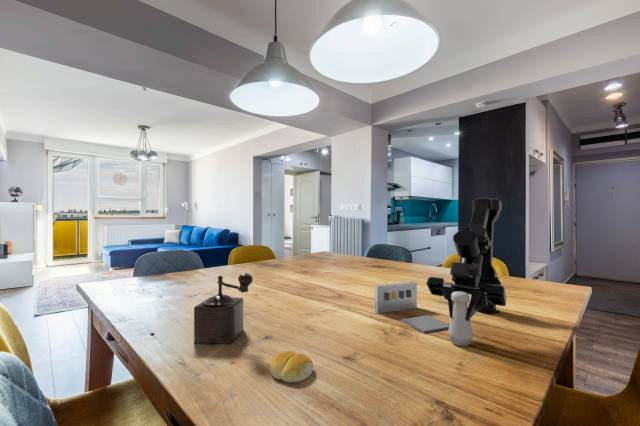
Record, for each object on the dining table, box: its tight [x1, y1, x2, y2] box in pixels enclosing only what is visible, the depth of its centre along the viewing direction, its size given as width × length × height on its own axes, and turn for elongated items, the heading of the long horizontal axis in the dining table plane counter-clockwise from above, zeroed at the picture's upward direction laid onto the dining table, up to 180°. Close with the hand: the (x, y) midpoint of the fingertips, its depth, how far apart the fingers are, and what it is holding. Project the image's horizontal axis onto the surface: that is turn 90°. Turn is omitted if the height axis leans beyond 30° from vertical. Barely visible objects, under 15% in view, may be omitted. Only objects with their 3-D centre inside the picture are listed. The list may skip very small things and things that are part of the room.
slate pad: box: [401, 314, 450, 334], centre depth 91 cm, size 10×10×1 cm
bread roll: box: [269, 350, 315, 383], centre depth 64 cm, size 8×9×4 cm
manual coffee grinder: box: [193, 272, 254, 345], centre depth 83 cm, size 16×11×18 cm
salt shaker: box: [447, 291, 474, 347], centre depth 77 cm, size 6×6×13 cm
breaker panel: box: [374, 281, 418, 315], centre depth 104 cm, size 16×3×9 cm, turn 111°
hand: (458, 318), depth 76 cm, fingers closed on salt shaker, 3 cm apart
